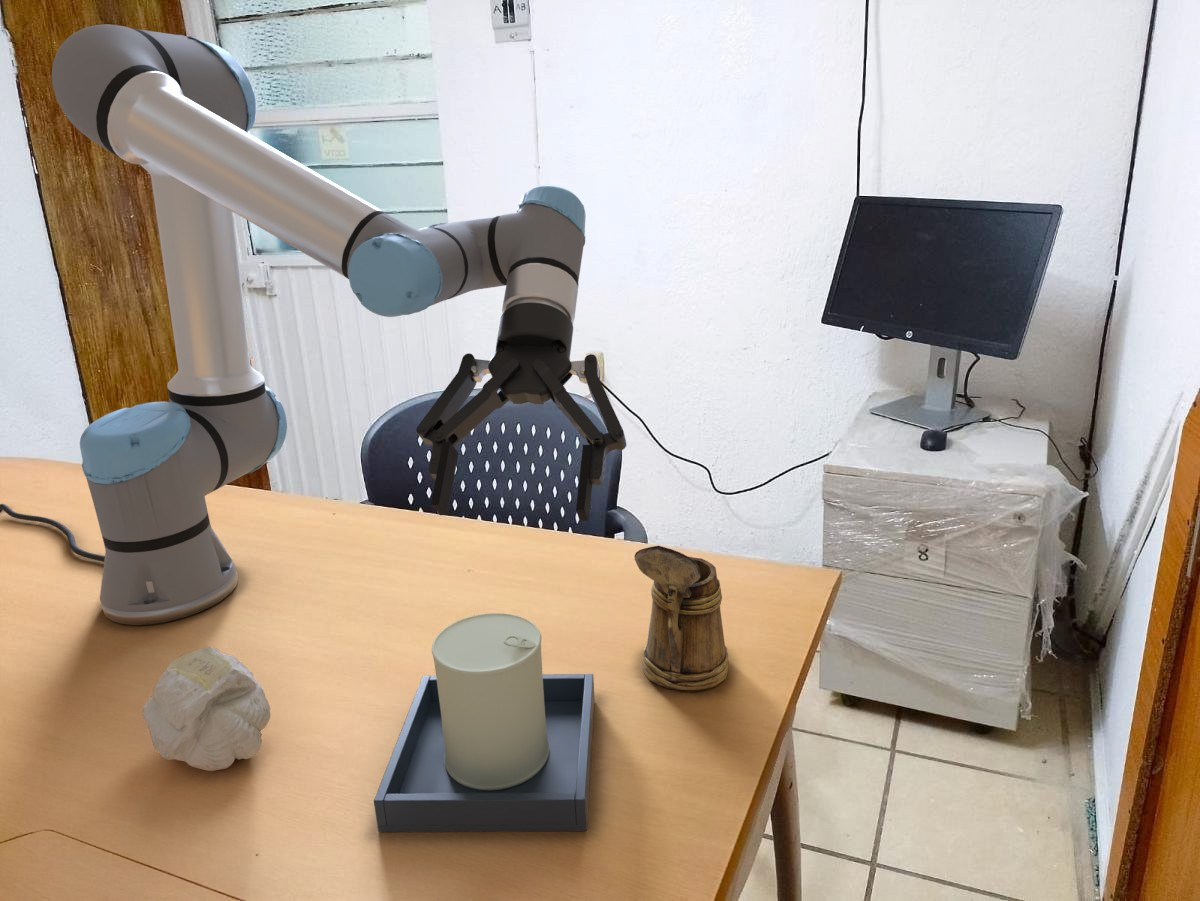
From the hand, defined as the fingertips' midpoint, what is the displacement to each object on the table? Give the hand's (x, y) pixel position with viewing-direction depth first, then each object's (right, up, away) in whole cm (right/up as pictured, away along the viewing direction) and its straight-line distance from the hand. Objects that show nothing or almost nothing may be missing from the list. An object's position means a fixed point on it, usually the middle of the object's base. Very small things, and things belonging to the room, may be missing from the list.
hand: (509, 513), depth 76 cm
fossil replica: (-27, -22, 0) cm, 35 cm away
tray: (-1, -22, -3) cm, 22 cm away
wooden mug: (+16, -17, +7) cm, 25 cm away
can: (-1, -21, -3) cm, 21 cm away
